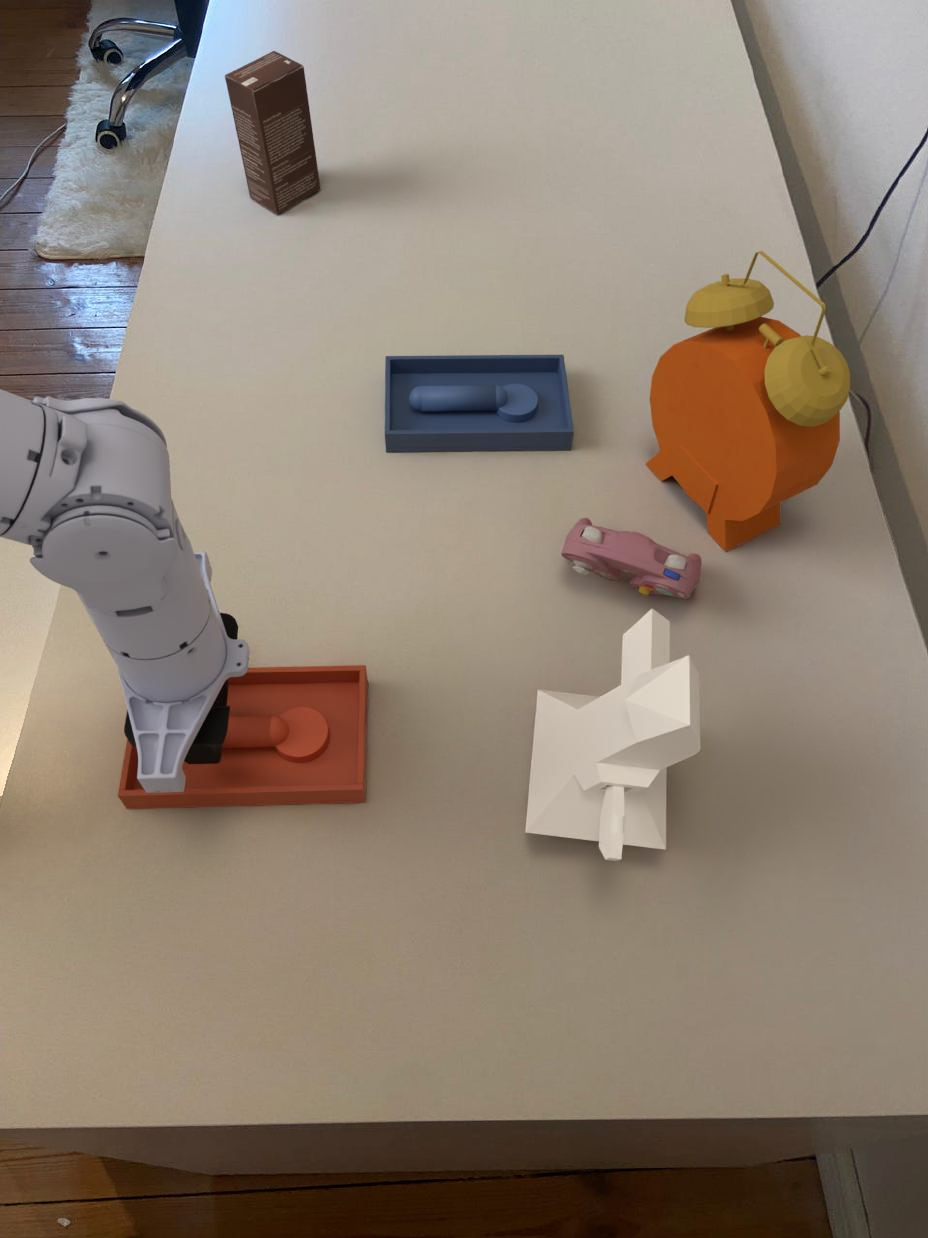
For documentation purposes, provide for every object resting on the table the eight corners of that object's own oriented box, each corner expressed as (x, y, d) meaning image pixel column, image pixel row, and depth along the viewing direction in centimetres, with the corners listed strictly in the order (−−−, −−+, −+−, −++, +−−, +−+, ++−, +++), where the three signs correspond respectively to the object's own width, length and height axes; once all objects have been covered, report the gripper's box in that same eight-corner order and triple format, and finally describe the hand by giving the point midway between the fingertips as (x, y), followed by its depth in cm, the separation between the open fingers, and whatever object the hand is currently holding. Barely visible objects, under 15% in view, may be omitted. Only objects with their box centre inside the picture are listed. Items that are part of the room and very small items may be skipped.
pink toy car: (557, 576, 72) (551, 557, 65) (577, 519, 73) (574, 495, 66) (685, 619, 70) (693, 604, 64) (705, 560, 71) (715, 540, 64)
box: (291, 172, 97) (274, 47, 87) (321, 191, 95) (308, 65, 85) (245, 197, 94) (221, 72, 84) (275, 217, 93) (255, 91, 83)
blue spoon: (409, 423, 78) (408, 405, 76) (409, 392, 80) (408, 373, 78) (539, 422, 78) (541, 404, 76) (535, 390, 80) (537, 372, 78)
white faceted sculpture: (517, 890, 58) (538, 801, 46) (535, 686, 65) (557, 567, 54) (658, 907, 57) (714, 823, 46) (660, 701, 65) (708, 584, 53)
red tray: (126, 809, 60) (117, 796, 58) (146, 685, 65) (138, 669, 63) (365, 802, 60) (363, 789, 59) (367, 680, 65) (365, 664, 63)
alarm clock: (800, 535, 73) (908, 324, 56) (737, 568, 71) (829, 359, 54) (691, 424, 79) (760, 203, 62) (631, 451, 77) (685, 231, 60)
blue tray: (385, 452, 77) (384, 433, 75) (386, 374, 81) (385, 355, 80) (571, 450, 77) (574, 431, 75) (560, 373, 82) (563, 354, 80)
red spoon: (161, 766, 61) (154, 752, 59) (169, 715, 63) (161, 701, 61) (328, 762, 61) (325, 748, 60) (330, 712, 63) (327, 697, 62)
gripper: (218, 738, 46) (262, 839, 57) (244, 502, 54) (278, 632, 65) (67, 742, 45) (142, 842, 57) (116, 504, 53) (173, 634, 65)
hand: (207, 730), depth 61 cm, fingers open, 3 cm apart
